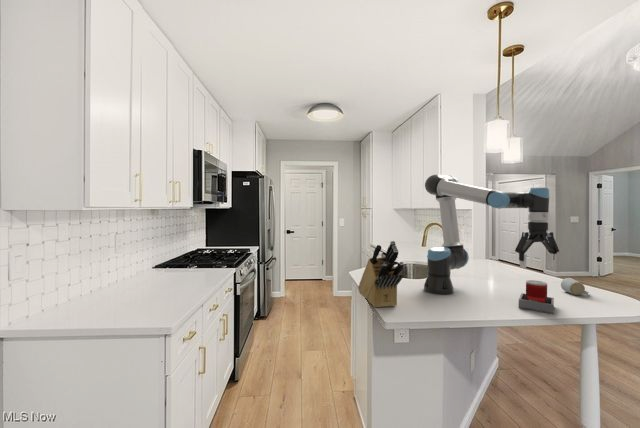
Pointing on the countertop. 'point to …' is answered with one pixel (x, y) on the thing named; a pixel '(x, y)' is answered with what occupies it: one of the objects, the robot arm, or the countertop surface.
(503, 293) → the countertop surface
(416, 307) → the countertop surface
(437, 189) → the robot arm
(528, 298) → the canned food
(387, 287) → the knife block
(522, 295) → the tray
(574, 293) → the ceramic mug
